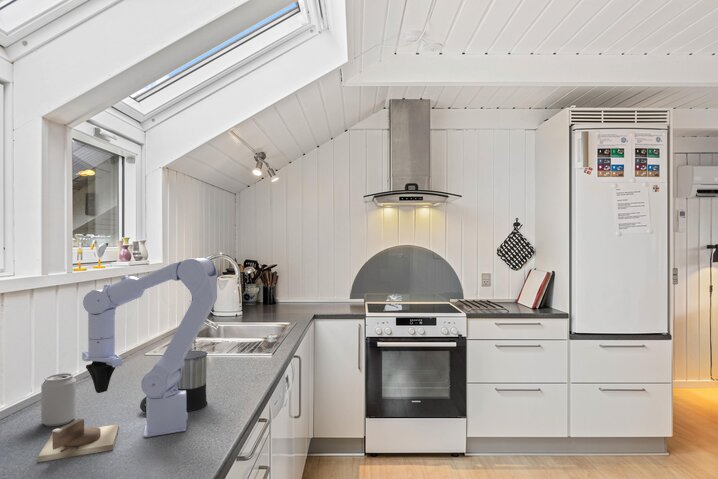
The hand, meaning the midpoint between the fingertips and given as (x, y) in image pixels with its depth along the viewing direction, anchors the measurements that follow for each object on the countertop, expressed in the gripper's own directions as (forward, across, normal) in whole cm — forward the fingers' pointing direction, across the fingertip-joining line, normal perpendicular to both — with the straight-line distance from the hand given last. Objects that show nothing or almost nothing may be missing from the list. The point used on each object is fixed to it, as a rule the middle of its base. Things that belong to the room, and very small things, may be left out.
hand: (101, 391), depth 109 cm
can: (+10, -15, -3) cm, 18 cm away
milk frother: (+10, +4, +18) cm, 21 cm away
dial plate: (+9, +4, -7) cm, 12 cm away
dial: (+8, +5, -9) cm, 13 cm away
